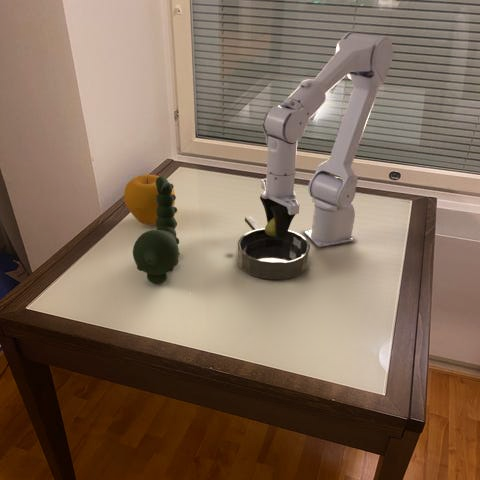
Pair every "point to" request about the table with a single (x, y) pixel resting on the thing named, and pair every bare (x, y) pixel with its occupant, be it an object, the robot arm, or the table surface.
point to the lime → (271, 228)
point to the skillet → (273, 254)
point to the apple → (143, 198)
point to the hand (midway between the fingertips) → (277, 231)
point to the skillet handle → (253, 224)
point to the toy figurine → (159, 238)
